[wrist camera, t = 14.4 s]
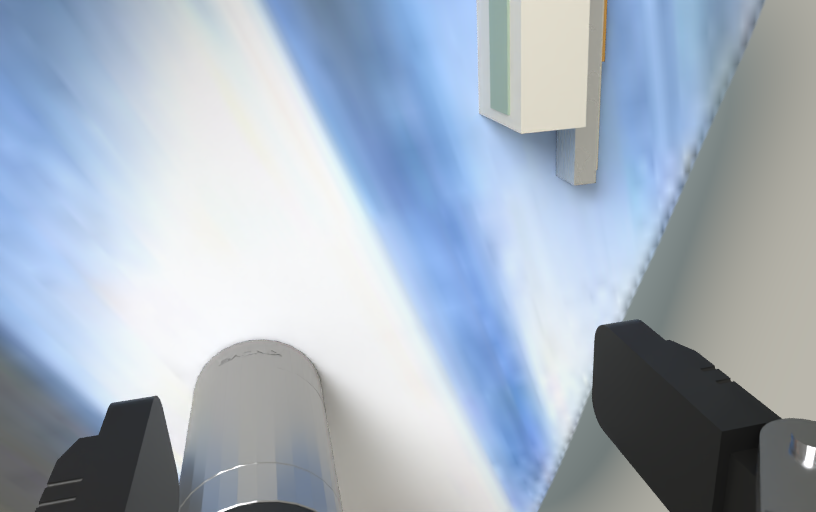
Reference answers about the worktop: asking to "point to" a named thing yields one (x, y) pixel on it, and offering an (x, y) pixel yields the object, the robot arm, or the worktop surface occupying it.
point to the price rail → (582, 143)
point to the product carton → (533, 63)
